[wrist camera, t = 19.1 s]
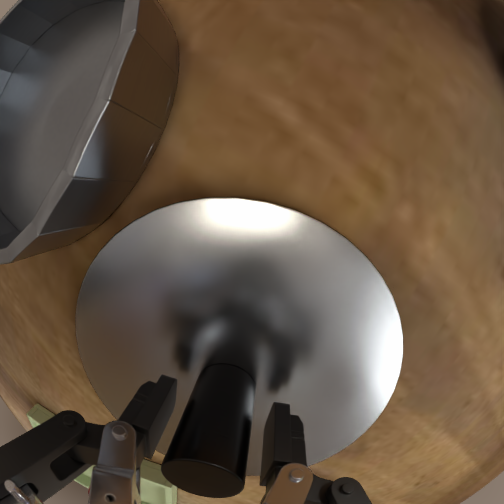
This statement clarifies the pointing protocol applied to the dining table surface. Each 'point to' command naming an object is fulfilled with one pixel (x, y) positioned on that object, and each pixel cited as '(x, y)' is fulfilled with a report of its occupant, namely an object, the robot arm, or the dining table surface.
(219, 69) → the dining table surface
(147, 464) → the tray
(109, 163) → the pot
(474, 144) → the dining table surface
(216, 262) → the pot lid
